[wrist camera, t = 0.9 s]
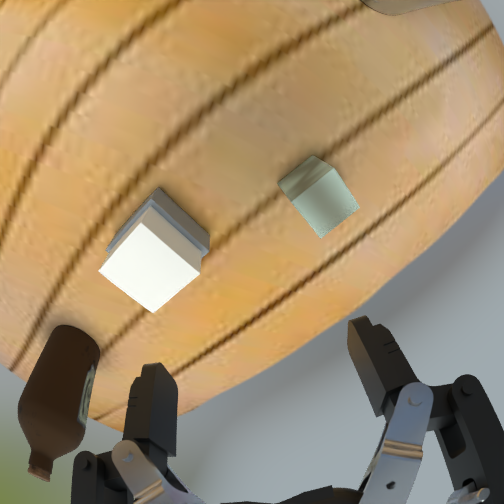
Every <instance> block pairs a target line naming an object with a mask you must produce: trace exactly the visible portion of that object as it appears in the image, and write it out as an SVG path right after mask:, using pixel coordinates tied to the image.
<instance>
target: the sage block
mask: <svg viewBox="0 0 504 504" xmlns="http://www.w3.org/2000/svg"><path fill="white" fill-rule="evenodd" d="M277 184H278V185H279V187H280V188H281V189H282V191H283V192H284V193H285V195H286V196H287V197H288V199H289V200H290V201H291V203H292V204H293V205H294V206H295V208H296V209H297V210H298V211H299V212H300V214H301V215H302V216H303V217H304V219H305V220H306V221H307V222H308V223H309V225H310V226H311V227H312V228H313V230H314V231H315V232H316V233H317V235H318V236H319V237H320V238H322V237H323V236H325V235H326V234H327V233H328V232H330V231H331V230H332V229H333V228H335V227H336V226H337V225H339V224H340V223H341V222H342V221H344V220H345V219H346V218H347V217H349V216H350V215H351V214H352V213H353V212H355V211H356V210H357V209H358V208H360V207H359V205H358V203H357V202H356V200H355V199H354V197H353V195H352V194H351V192H350V191H349V189H348V188H347V186H346V185H345V183H344V182H343V180H342V179H341V177H340V176H339V174H338V173H337V171H336V170H335V168H334V167H332V166H330V165H329V164H327V163H325V162H324V161H322V160H320V159H318V158H317V157H315V156H313V155H312V156H311V157H310V158H308V159H307V160H306V161H304V162H303V163H302V164H301V165H299V166H298V167H297V168H296V169H294V170H293V171H292V172H291V173H290V174H288V175H287V176H286V177H285V178H283V179H282V180H281V181H280V182H278V183H277Z"/></svg>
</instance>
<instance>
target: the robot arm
mask: <svg viewBox="0 0 504 504" xmlns="http://www.w3.org/2000/svg"><path fill="white" fill-rule="evenodd" d="M361 1H362V2H364V3H365V4H366V5H367V6H369V7H371V8H372V9H374V10H376V11H378V12H380V13H383V14H387V15H400V14H403V13H407V12H410V11H414V10H418V9H422V8H426V7H430V6H434V5H439V4H444V3H449V2H454V1H460V0H361ZM347 345H348V350H349V354H350V356H351V359H352V361H353V363H354V366H355V368H356V370H357V372H358V375H359V377H360V379H361V382H362V384H363V386H364V389H365V391H366V394H367V396H368V398H369V401H370V403H371V405H372V408H373V411H374V413H375V415H376V417H378V416H381V415H384V417H385V420H386V423H385V426H384V429H383V432H382V435H381V438H380V440H379V443H378V446H377V448H376V451H375V453H374V456H373V458H372V460H371V463H370V465H369V466H368V468H367V471H366V473H365V475H364V477H363V479H362V481H361V483H360V485H359V488H358V490H354V489H348V488H332V485H331V486H327V487H323V488H319V489H315V490H311V491H307V492H303V493H301V494H299V495H297V496H294V497H292V498H290V499H287V500H285V501H282V502H280V503H276V504H406V501H407V499H408V497H409V494H410V492H411V489H412V487H413V484H414V481H415V479H416V476H417V473H418V470H419V467H420V464H421V461H422V457H423V451H422V445H423V441H424V437H425V434H426V432H427V431H432V430H434V432H435V434H436V437H437V439H438V442H439V445H440V447H441V451H442V453H443V456H444V459H445V462H446V465H447V468H448V471H449V474H450V477H451V480H452V484H453V487H454V492H453V493H452V494H451V495H450V497H449V498H448V501H447V503H446V504H504V431H503V428H502V426H501V424H500V421H499V419H498V417H497V415H496V413H495V411H494V409H493V406H492V405H491V402H490V400H489V398H488V397H487V394H486V393H485V391H484V389H483V387H482V385H481V383H480V381H479V380H478V379H477V378H476V377H475V376H472V375H469V374H466V375H462V376H460V377H458V378H457V379H456V380H455V382H454V383H453V384H447V385H441V386H428V385H426V384H423V383H422V382H420V381H419V380H418V379H417V377H416V375H415V374H414V372H413V370H412V368H411V367H410V365H409V363H408V361H407V359H406V358H405V356H404V354H403V352H402V351H401V350H400V347H399V346H398V344H397V342H396V341H395V339H394V337H393V336H392V334H391V332H390V331H389V330H388V329H387V328H385V327H384V326H382V325H381V324H378V325H375V326H372V324H371V322H370V320H369V318H368V317H367V316H362V317H359V318H356V319H352V320H349V322H348V339H347ZM177 404H178V388H177V384H176V382H175V380H174V379H173V377H172V376H171V375H170V374H169V372H168V371H167V370H166V368H165V367H164V366H163V364H162V363H152V364H145V365H143V367H142V372H141V377H136V378H135V380H134V382H133V384H132V385H131V388H130V393H129V399H128V405H127V406H128V408H127V412H126V419H125V426H124V433H123V438H122V441H120V442H118V443H117V444H116V445H115V446H114V448H113V450H112V451H109V452H105V453H102V454H98V455H95V454H93V453H91V452H89V451H82V452H80V453H78V454H77V456H76V457H75V459H74V465H73V476H72V491H71V504H206V503H205V502H204V501H203V500H202V499H200V498H199V497H198V496H196V495H195V494H194V493H193V492H191V490H190V489H189V488H188V487H187V486H186V485H185V484H184V483H183V481H182V480H181V479H180V478H179V477H178V475H177V474H176V473H175V472H174V470H173V469H172V468H171V467H170V466H169V464H168V463H167V457H176V430H177ZM133 497H135V500H134V498H133ZM221 504H271V503H258V502H248V501H246V502H234V503H221Z"/></svg>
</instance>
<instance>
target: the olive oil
mask: <svg viewBox="0 0 504 504" xmlns="http://www.w3.org/2000/svg"><path fill="white" fill-rule="evenodd" d="M99 357H100V351H99V348H98V346H97V344H96V343H95V342H94V340H93V339H92V338H91V337H89V336H88V335H87V334H86V333H84V332H82V331H81V330H79V329H76V328H74V327H70V326H58V327H56V328H55V329H54V330H53V332H52V333H51V335H50V337H49V339H48V341H47V343H46V345H45V347H44V349H43V351H42V353H41V355H40V357H39V359H38V361H37V363H36V365H35V367H34V369H33V371H32V373H31V375H30V377H29V380H28V382H27V384H26V386H25V388H24V390H23V393H22V395H21V397H20V400H19V403H18V420H19V423H20V425H21V428H22V430H23V432H24V434H25V436H26V438H27V440H28V443H29V444H30V447H31V455H30V459H29V464H30V465H29V468H28V472H29V473H30V474H32V475H33V476H35V477H37V478H40V479H42V480H44V481H47V482H50V474H52V468H53V461H54V460H55V459H56V458H58V457H61V456H63V455H65V454H67V453H69V452H71V451H73V450H75V449H76V448H77V447H78V446H79V445H80V443H81V441H82V440H83V437H84V434H85V429H86V421H87V415H88V409H89V403H90V397H91V392H92V387H93V382H94V378H95V374H96V369H97V365H98V361H99Z"/></svg>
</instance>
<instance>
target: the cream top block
mask: <svg viewBox="0 0 504 504" xmlns="http://www.w3.org/2000/svg"><path fill="white" fill-rule="evenodd" d="M201 253H202V251H200V250H199V249H198V248H197V247H196V246H195V245H194V244H193V243H191V242H190V241H189V240H188V239H187V238H186V237H185V236H184V235H183V234H181V233H180V232H179V231H178V230H177V229H176V228H175V227H174V226H173V225H171V224H170V223H169V222H168V221H167V220H166V219H165V218H164V217H163V216H162V215H160V214H159V213H158V212H157V211H156V210H155V209H154V208H153V207H152V206H150V207H149V208H148V209H147V210H146V211H145V212H144V213H143V214H142V215H141V216H140V217H139V218H138V220H137V221H136V222H135V223H134V224H133V225H132V226H131V227H130V228H129V229H128V231H127V232H126V233H125V234H124V235H123V236H122V237H121V239H120V240H119V241H118V242H117V243H116V244H115V246H114V247H113V248H112V249H111V250H110V252H109V254H108V255H107V257H106V259H105V260H104V262H103V264H102V266H101V267H100V269H99V272H100V273H101V274H102V275H103V276H105V277H106V278H107V279H108V280H110V281H111V282H112V283H113V284H115V285H116V286H117V287H119V288H120V289H121V290H122V291H124V292H125V293H126V294H128V295H129V296H130V297H132V298H133V299H134V300H136V301H137V302H138V303H140V304H141V305H142V306H144V307H145V308H146V309H148V310H149V311H151V312H152V313H154V312H155V311H157V310H158V309H159V308H160V307H161V306H162V305H164V304H165V303H166V302H167V301H168V300H169V299H171V298H172V297H173V296H174V295H175V294H177V293H178V292H179V291H180V290H181V289H182V288H184V287H185V286H186V285H187V284H188V283H190V282H191V281H192V280H193V279H194V278H196V277H197V276H198V275H199V274H200V269H201Z"/></svg>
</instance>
